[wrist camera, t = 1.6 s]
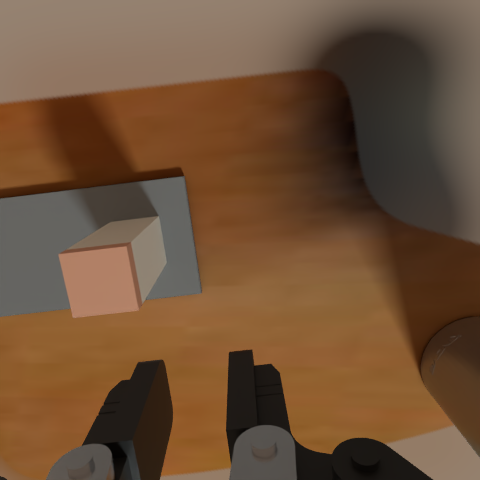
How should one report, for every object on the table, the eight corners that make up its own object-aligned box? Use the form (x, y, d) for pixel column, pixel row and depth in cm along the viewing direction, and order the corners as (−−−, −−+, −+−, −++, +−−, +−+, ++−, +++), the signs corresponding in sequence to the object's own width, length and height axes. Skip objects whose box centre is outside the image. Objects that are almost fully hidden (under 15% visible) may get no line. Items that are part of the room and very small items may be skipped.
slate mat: (184, 175, 33) (183, 176, 32) (201, 291, 35) (201, 293, 35) (-33, 202, 33) (-37, 203, 33) (-2, 314, 35) (-5, 317, 35)
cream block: (158, 216, 33) (126, 246, 23) (166, 262, 34) (138, 310, 24) (110, 221, 33) (58, 254, 23) (119, 268, 34) (73, 318, 24)
